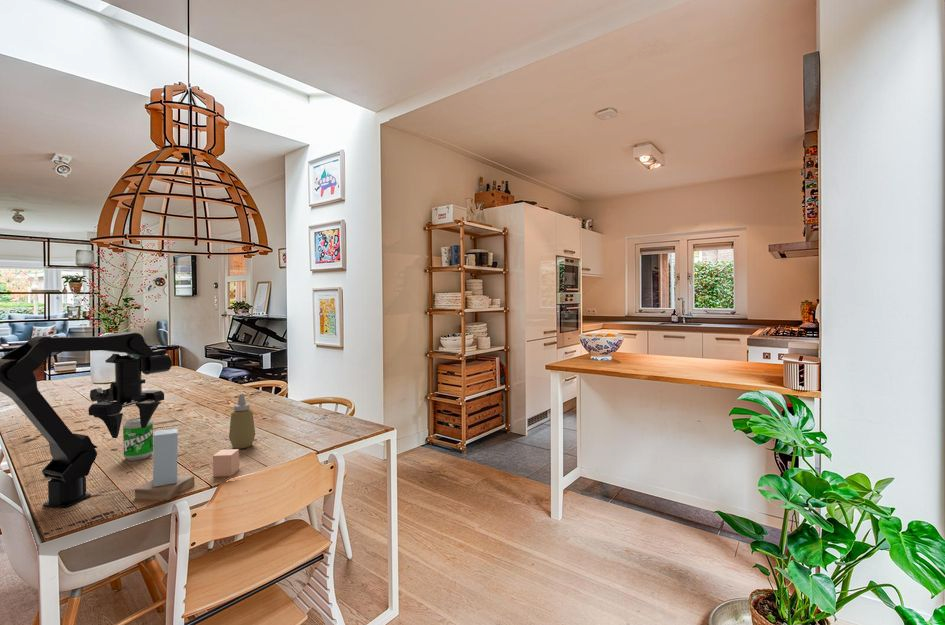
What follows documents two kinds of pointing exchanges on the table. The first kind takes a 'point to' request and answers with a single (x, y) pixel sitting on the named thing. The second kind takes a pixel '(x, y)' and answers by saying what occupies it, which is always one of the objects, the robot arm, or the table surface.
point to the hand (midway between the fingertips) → (129, 432)
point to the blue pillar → (165, 457)
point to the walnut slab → (164, 489)
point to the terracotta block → (226, 462)
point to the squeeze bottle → (241, 425)
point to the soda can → (137, 439)
